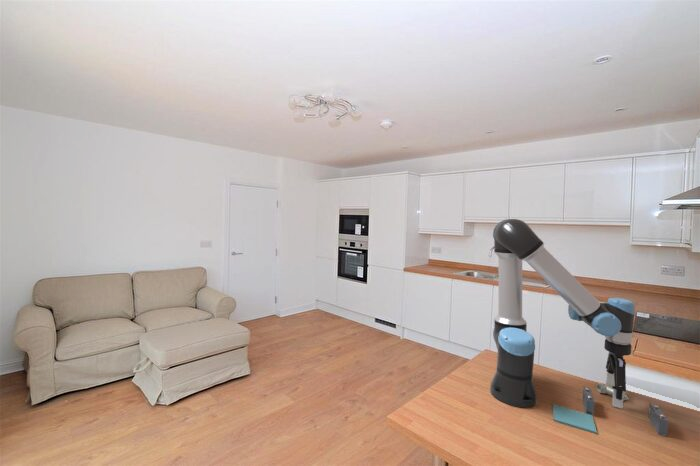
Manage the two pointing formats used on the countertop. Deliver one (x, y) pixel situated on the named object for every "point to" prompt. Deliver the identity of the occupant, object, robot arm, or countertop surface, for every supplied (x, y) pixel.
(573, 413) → the mat
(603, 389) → the pipe fitting
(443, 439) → the countertop surface
